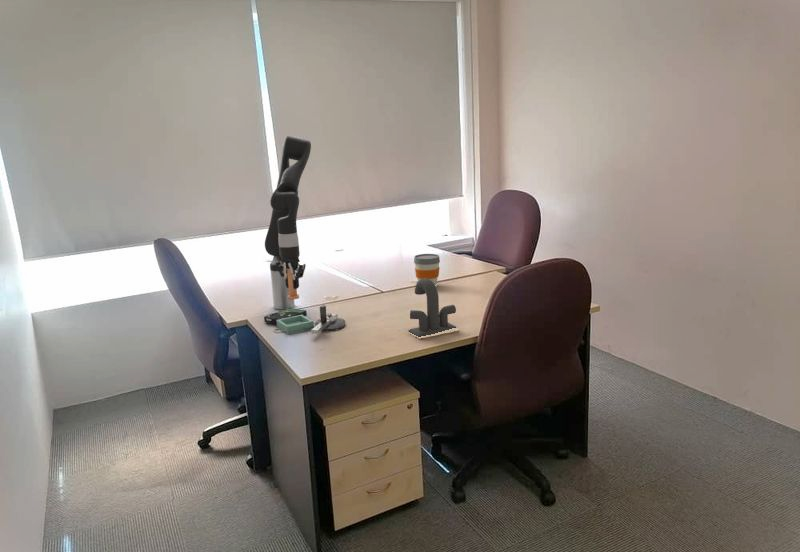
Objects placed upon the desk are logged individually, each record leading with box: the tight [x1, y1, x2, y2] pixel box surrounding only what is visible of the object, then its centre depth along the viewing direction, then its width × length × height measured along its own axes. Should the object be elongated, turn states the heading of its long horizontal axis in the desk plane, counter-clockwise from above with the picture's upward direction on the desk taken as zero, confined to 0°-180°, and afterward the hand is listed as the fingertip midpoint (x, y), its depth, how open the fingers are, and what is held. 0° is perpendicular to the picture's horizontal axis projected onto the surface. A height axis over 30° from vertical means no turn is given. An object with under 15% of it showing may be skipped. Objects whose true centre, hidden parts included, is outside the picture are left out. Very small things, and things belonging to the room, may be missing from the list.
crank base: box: [314, 317, 347, 332], centre depth 231 cm, size 12×12×2 cm
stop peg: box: [287, 269, 300, 300], centre depth 226 cm, size 4×4×12 cm
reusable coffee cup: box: [413, 253, 441, 285], centre depth 283 cm, size 12×13×15 cm
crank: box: [310, 304, 339, 335], centre depth 225 cm, size 20×5×8 cm, turn 164°
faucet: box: [407, 278, 457, 337], centre depth 220 cm, size 18×16×20 cm
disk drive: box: [263, 308, 308, 326], centre depth 240 cm, size 10×3×15 cm
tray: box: [276, 315, 315, 335], centre depth 230 cm, size 11×11×3 cm
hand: (292, 287), depth 227 cm, fingers closed on stop peg, 3 cm apart
